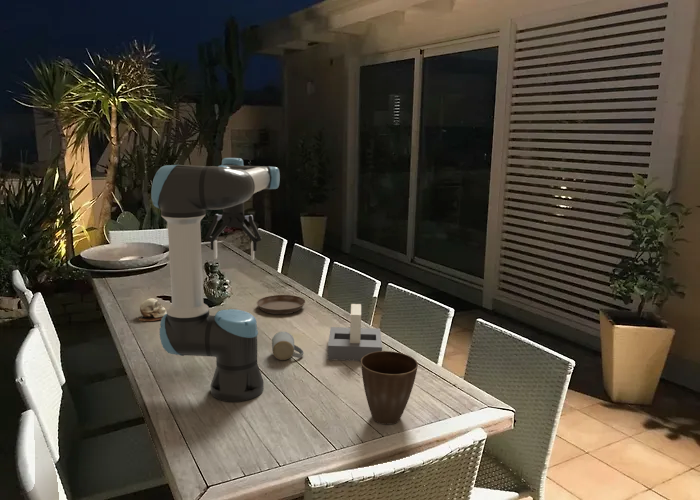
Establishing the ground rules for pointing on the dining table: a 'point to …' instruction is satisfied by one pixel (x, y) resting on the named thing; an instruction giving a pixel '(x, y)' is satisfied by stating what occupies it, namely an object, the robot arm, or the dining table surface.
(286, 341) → the ceramic mug
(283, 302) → the plant saucer
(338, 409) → the dining table surface
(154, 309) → the skull
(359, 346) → the plate
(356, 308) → the bar
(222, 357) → the robot arm
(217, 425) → the dining table surface
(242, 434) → the dining table surface
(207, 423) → the dining table surface
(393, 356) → the plant pot
